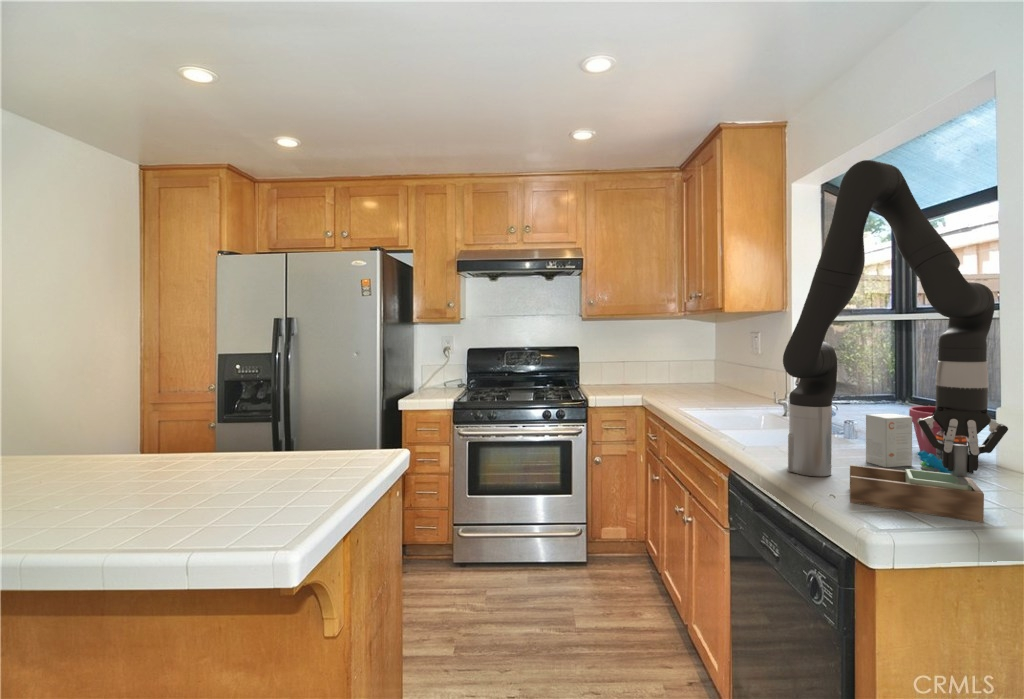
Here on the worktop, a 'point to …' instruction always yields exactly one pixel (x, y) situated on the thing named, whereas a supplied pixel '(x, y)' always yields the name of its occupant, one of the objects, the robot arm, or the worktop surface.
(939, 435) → the supplement bottle
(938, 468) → the gear
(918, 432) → the plant pot
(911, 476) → the crate
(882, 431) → the small box
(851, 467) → the bay
